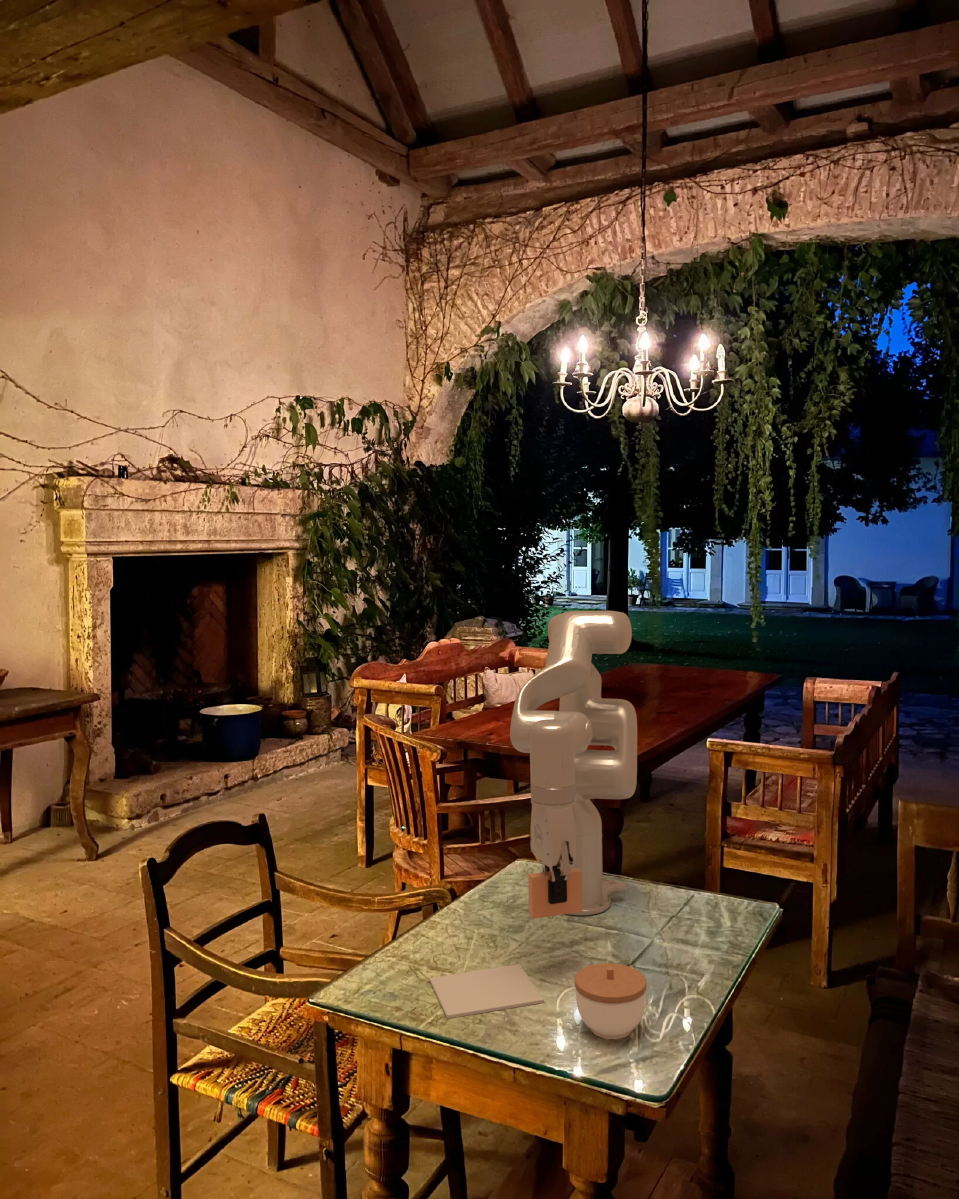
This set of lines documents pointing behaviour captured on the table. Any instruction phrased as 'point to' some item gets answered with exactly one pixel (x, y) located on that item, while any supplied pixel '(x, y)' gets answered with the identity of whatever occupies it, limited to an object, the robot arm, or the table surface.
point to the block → (540, 895)
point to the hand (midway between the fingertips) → (555, 899)
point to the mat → (485, 991)
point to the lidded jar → (610, 999)
